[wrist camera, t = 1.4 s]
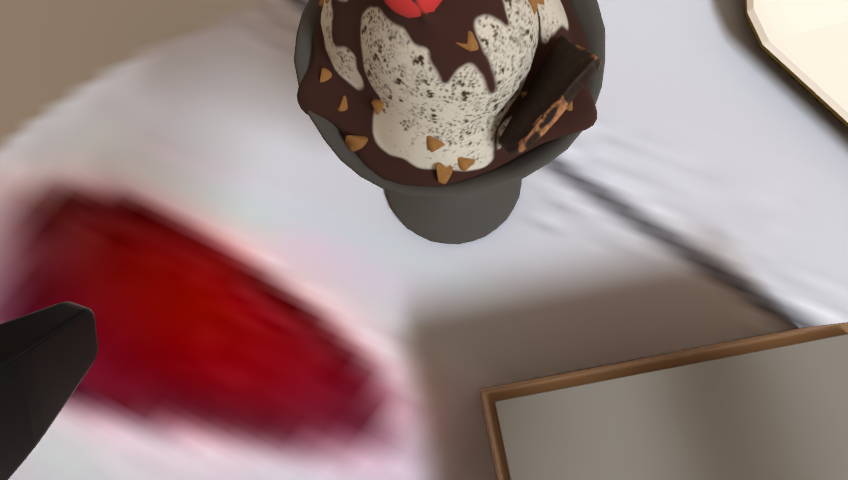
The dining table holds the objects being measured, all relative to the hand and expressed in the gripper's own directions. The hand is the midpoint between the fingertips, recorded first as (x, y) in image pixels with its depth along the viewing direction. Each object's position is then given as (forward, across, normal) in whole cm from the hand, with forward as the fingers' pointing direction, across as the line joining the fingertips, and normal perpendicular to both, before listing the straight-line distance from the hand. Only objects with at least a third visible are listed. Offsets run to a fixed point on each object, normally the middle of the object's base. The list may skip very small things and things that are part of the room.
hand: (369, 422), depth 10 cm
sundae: (+15, +1, +4) cm, 16 cm away
